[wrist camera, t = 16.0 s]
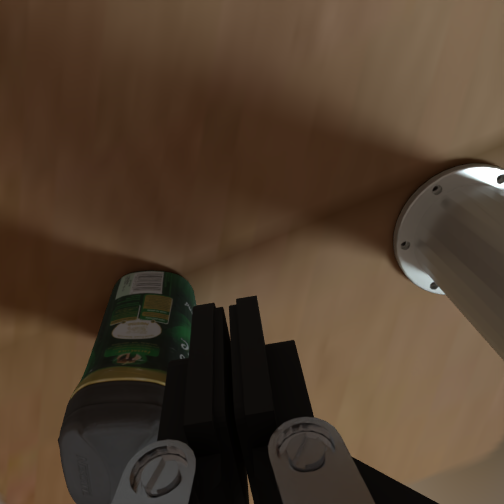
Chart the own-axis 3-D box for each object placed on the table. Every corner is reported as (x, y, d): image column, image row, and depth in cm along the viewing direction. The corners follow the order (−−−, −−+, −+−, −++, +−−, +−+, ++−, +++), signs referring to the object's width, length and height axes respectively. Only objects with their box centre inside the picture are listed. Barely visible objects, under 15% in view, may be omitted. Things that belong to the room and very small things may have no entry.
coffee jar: (199, 350, 45) (190, 535, 29) (118, 351, 45) (61, 541, 28) (198, 265, 41) (187, 424, 24) (109, 264, 40) (36, 427, 24)
